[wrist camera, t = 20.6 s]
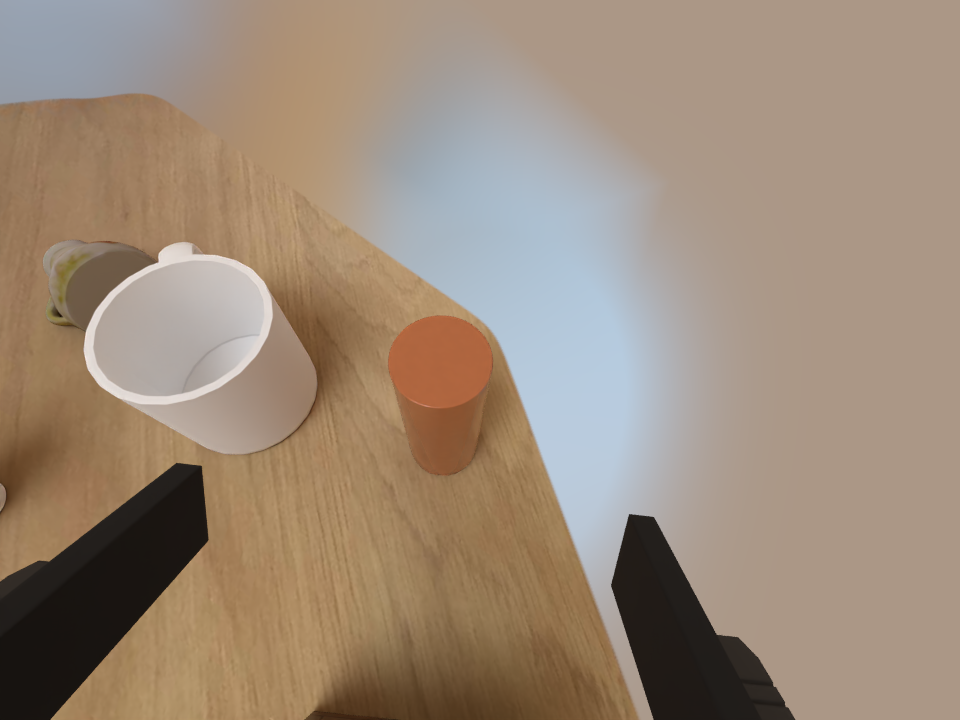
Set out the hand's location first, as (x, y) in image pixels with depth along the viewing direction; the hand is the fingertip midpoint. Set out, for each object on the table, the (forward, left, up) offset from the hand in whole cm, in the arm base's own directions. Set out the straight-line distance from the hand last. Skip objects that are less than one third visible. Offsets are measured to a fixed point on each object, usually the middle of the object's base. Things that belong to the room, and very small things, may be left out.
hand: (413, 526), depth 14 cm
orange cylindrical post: (+3, -7, -18) cm, 20 cm away
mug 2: (+19, -4, -19) cm, 27 cm away
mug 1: (+33, -4, -19) cm, 38 cm away
